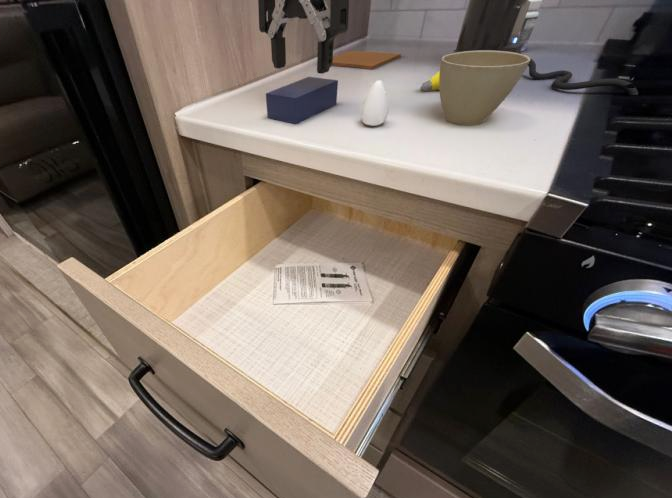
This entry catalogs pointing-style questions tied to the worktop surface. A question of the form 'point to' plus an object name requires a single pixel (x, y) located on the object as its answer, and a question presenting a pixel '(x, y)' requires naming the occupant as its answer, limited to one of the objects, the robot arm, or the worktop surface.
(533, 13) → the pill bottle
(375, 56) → the mat
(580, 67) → the worktop surface
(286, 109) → the navy rectangular block
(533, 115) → the worktop surface
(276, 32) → the robot arm
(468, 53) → the flower pot
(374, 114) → the egg
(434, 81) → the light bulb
